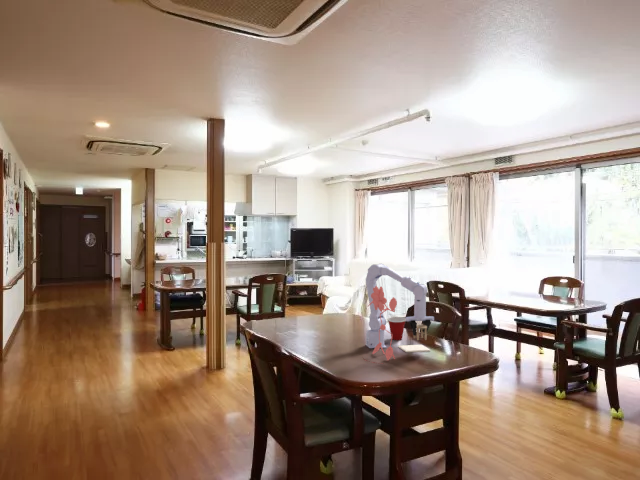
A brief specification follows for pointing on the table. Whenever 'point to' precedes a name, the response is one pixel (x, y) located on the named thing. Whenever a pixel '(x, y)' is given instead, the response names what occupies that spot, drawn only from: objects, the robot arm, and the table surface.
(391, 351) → the pink flower plant
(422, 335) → the stool
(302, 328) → the table surface
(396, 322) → the plastic cup
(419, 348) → the board
